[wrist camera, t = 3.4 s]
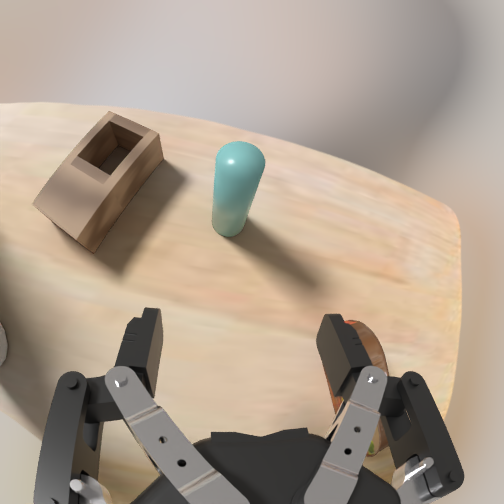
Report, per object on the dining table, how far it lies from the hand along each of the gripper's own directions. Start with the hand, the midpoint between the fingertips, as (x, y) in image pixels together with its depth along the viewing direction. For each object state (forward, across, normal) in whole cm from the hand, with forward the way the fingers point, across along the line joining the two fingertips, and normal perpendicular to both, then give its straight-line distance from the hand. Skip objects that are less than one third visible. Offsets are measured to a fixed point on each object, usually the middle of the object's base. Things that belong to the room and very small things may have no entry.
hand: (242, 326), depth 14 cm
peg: (+19, 0, +3) cm, 20 cm away
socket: (+22, +15, 0) cm, 26 cm away
